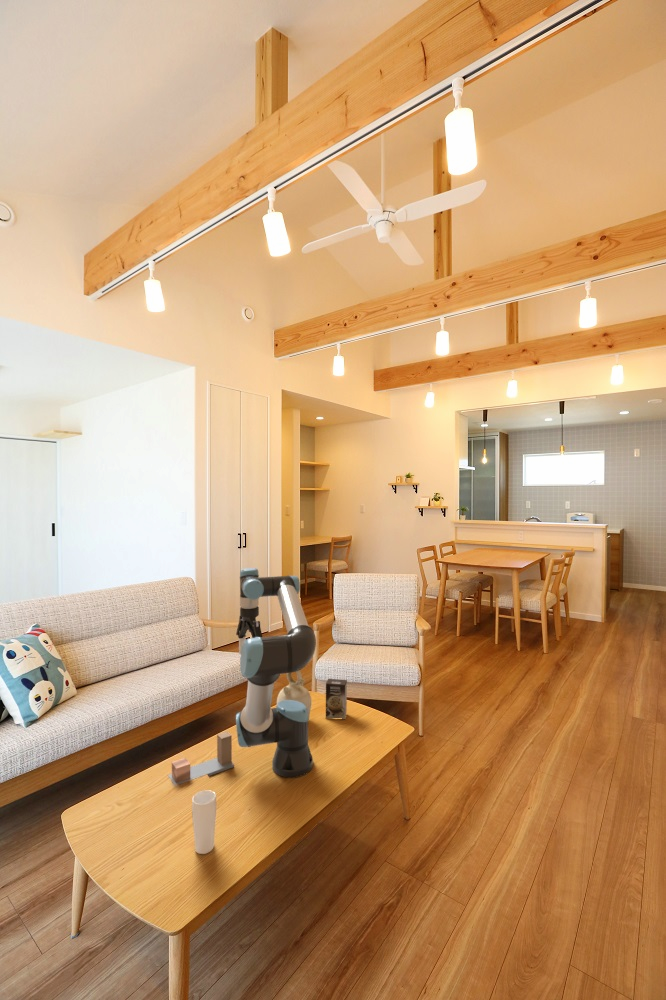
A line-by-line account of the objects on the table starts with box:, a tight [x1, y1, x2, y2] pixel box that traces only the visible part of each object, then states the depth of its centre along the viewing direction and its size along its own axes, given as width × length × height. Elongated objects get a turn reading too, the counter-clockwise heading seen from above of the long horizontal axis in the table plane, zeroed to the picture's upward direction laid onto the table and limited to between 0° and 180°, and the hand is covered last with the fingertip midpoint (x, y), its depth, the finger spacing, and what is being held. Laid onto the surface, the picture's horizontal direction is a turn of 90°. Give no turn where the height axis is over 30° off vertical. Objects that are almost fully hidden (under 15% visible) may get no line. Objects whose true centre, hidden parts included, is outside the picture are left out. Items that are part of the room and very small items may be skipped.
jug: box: [276, 670, 312, 721], centre depth 211 cm, size 15×16×25 cm
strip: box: [167, 730, 235, 787], centre depth 174 cm, size 8×22×11 cm, turn 126°
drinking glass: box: [191, 789, 217, 855], centre depth 137 cm, size 7×7×15 cm
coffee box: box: [325, 678, 348, 720], centre depth 217 cm, size 9×6×16 cm
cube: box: [171, 757, 191, 783], centre depth 170 cm, size 5×5×5 cm
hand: (249, 658), depth 195 cm, fingers open, 13 cm apart
